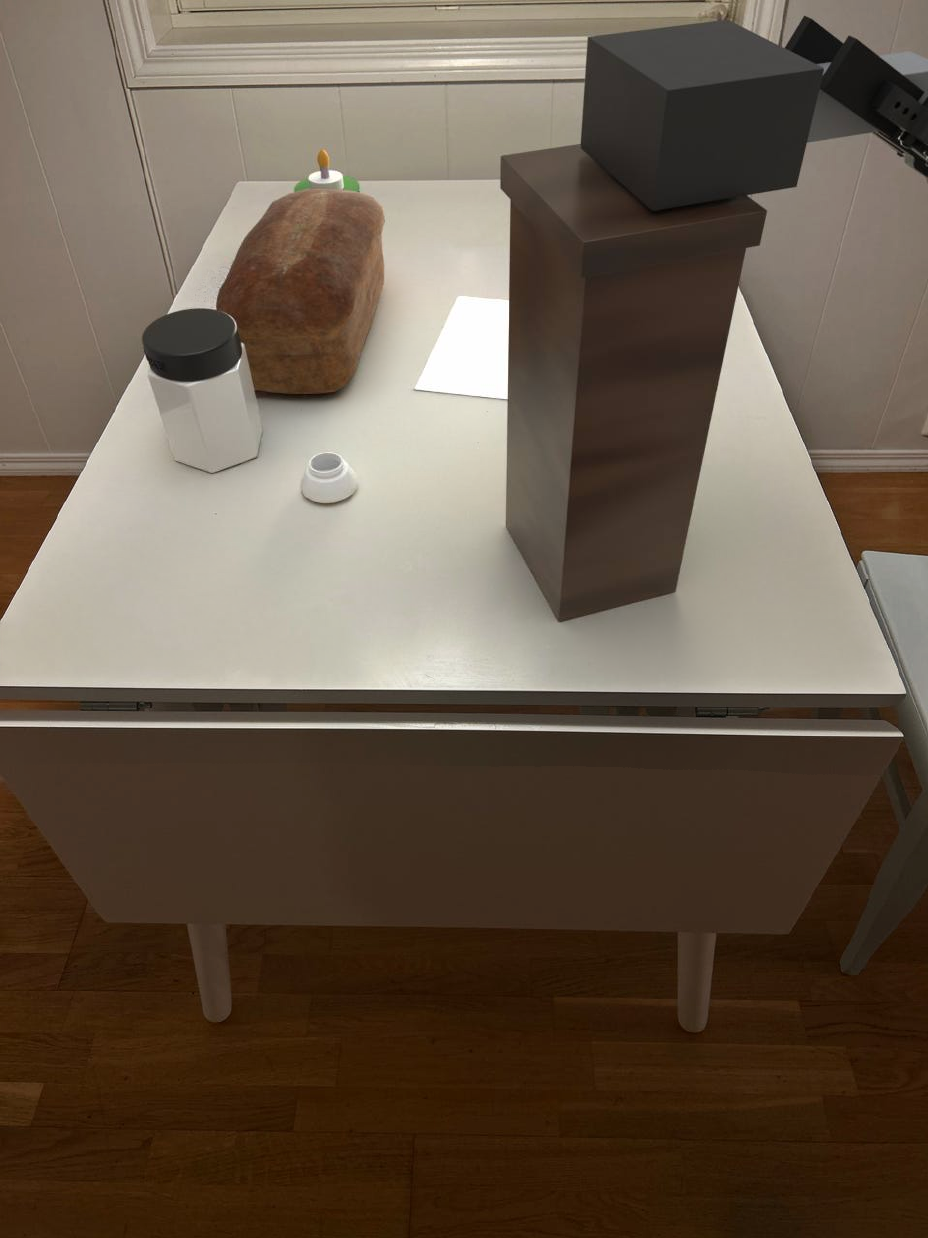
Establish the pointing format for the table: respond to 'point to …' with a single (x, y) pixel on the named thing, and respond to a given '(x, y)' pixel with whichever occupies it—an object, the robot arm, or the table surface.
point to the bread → (307, 289)
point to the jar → (203, 388)
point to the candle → (327, 178)
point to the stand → (611, 373)
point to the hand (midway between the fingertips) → (814, 52)
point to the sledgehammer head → (710, 111)
